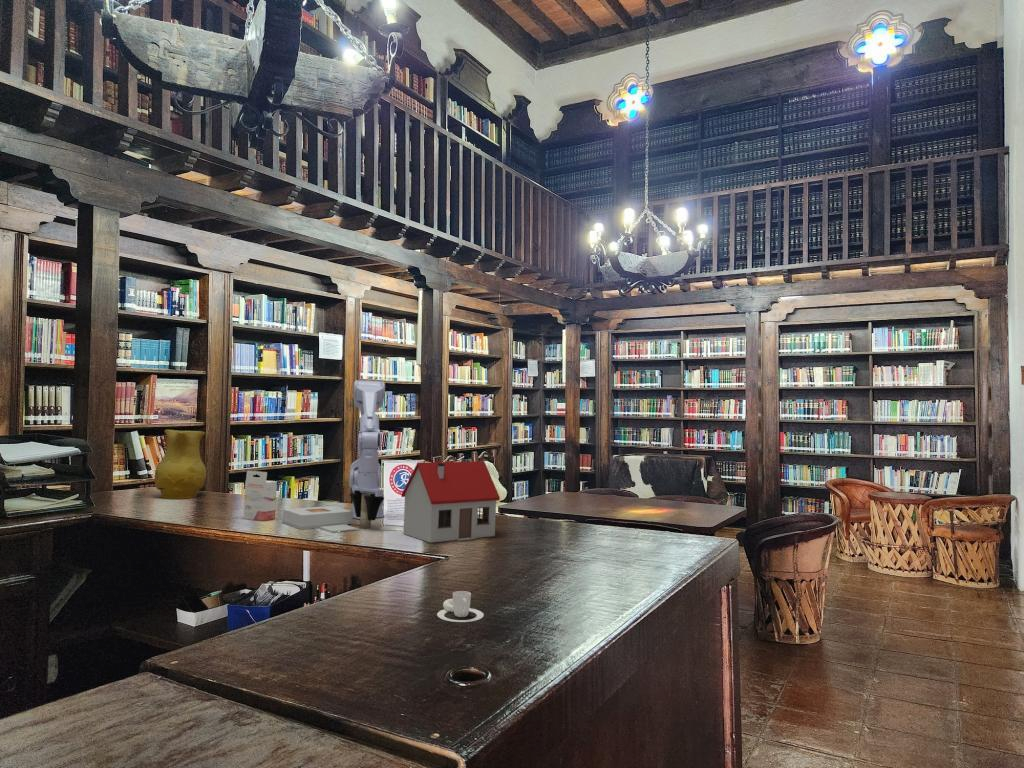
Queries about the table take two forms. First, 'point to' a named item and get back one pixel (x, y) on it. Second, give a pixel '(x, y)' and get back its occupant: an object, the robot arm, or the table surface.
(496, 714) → the table surface
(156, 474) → the pitcher
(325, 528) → the rest pad
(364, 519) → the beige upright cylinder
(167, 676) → the table surface
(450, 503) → the house model
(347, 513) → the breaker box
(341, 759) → the table surface
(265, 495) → the ink cartridge box
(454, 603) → the teacup and saucer
